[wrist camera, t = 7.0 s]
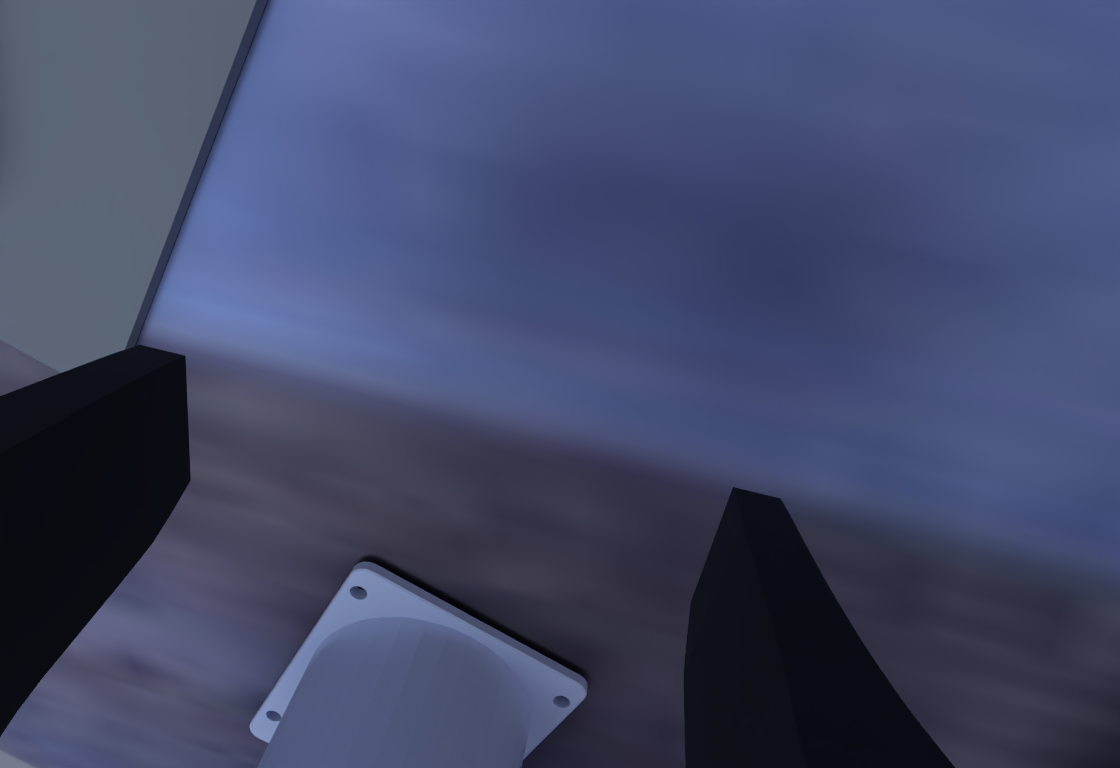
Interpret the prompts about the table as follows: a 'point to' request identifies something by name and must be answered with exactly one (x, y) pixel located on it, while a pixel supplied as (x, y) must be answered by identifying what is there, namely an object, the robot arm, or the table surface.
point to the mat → (103, 158)
